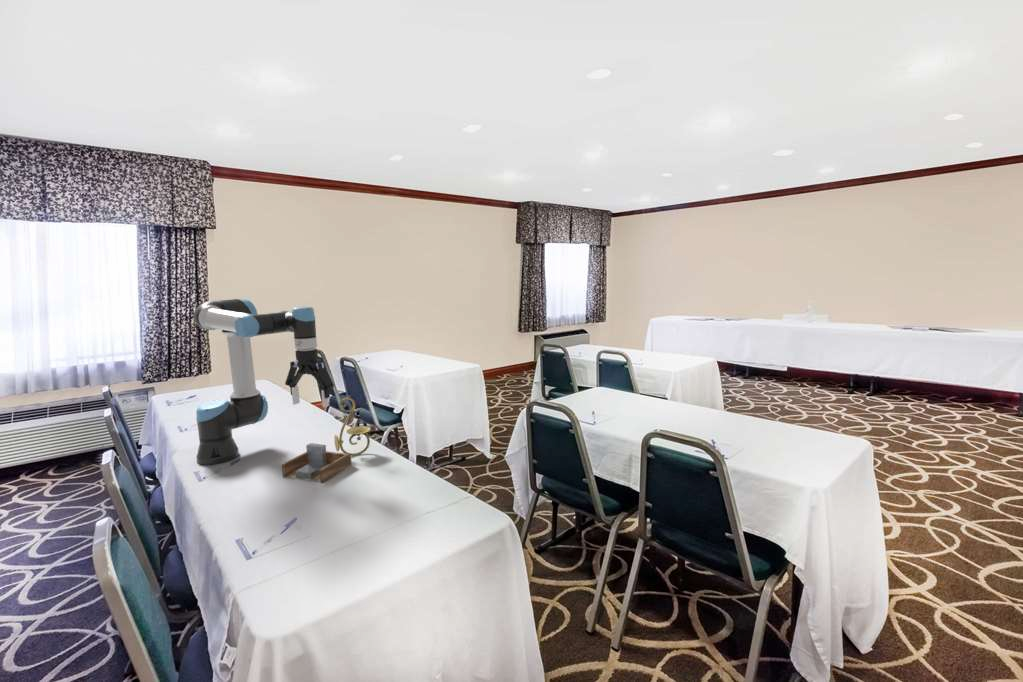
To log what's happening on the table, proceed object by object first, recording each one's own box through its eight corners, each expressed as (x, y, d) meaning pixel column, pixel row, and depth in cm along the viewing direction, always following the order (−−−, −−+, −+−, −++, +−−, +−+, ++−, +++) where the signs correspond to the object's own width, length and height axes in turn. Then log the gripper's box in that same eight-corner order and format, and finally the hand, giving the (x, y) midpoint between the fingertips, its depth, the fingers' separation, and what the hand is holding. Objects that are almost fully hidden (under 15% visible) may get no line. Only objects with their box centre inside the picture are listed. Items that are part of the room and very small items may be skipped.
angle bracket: (312, 467, 194) (310, 443, 192) (327, 469, 191) (325, 444, 190) (295, 477, 185) (293, 451, 184) (311, 479, 183) (309, 453, 182)
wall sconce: (340, 463, 199) (335, 402, 195) (335, 455, 207) (330, 397, 203) (374, 455, 206) (370, 396, 202) (368, 448, 214) (364, 392, 210)
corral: (282, 477, 187) (281, 464, 186) (313, 460, 202) (312, 448, 201) (323, 483, 181) (322, 470, 180) (351, 465, 196) (350, 453, 195)
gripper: (271, 349, 184) (276, 405, 187) (327, 352, 176) (331, 410, 179) (286, 346, 191) (291, 399, 194) (341, 348, 183) (345, 404, 186)
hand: (311, 405), depth 187 cm, fingers open, 13 cm apart
